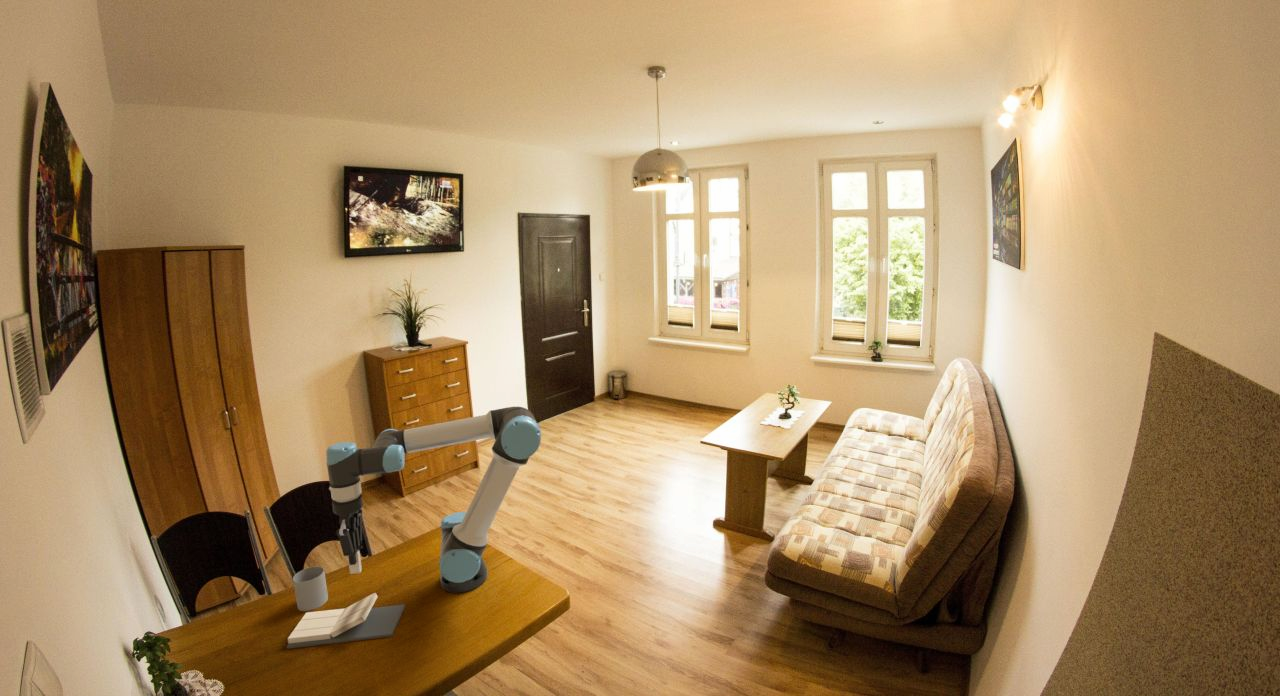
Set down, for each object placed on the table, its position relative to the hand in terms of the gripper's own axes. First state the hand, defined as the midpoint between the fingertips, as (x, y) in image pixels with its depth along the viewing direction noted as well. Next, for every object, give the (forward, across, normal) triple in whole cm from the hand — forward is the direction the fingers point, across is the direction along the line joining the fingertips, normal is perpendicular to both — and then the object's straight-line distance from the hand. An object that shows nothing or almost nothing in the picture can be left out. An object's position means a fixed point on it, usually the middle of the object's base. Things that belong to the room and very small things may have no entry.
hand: (356, 571), depth 153 cm
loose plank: (+14, 0, -1) cm, 14 cm away
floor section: (+18, 0, -4) cm, 18 cm away
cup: (+18, -14, -20) cm, 30 cm away
